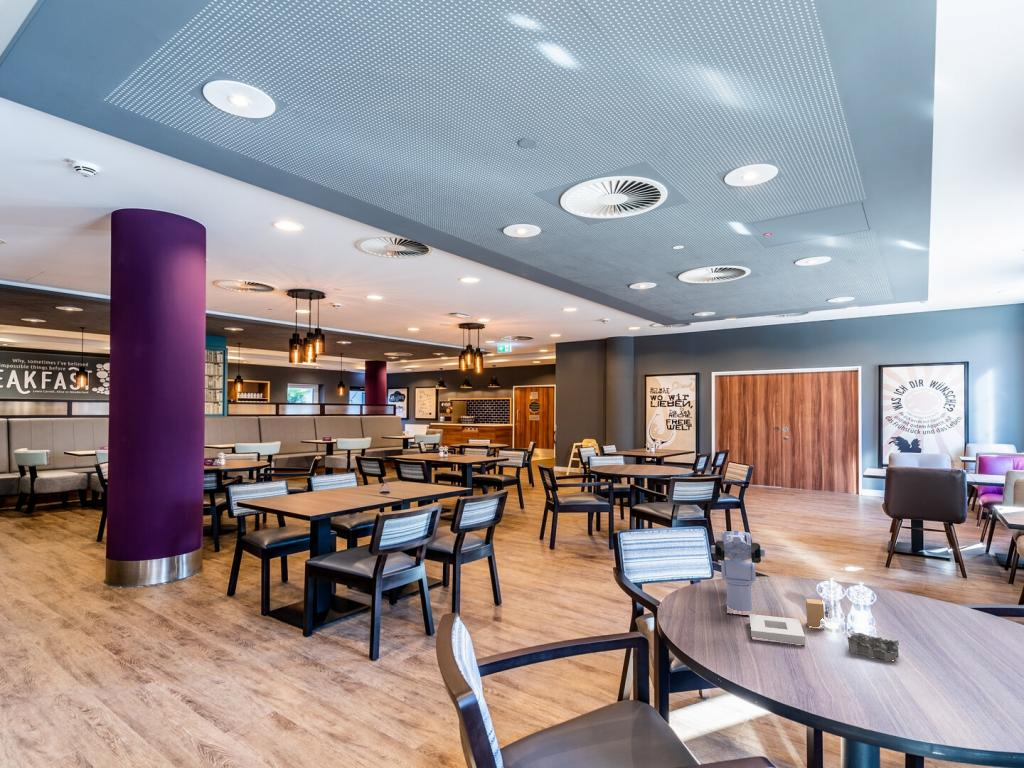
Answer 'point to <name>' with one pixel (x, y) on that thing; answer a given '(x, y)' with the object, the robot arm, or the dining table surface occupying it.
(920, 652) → the dining table surface
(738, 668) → the dining table surface
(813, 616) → the peg
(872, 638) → the egg carton
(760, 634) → the socket plate
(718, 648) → the dining table surface
